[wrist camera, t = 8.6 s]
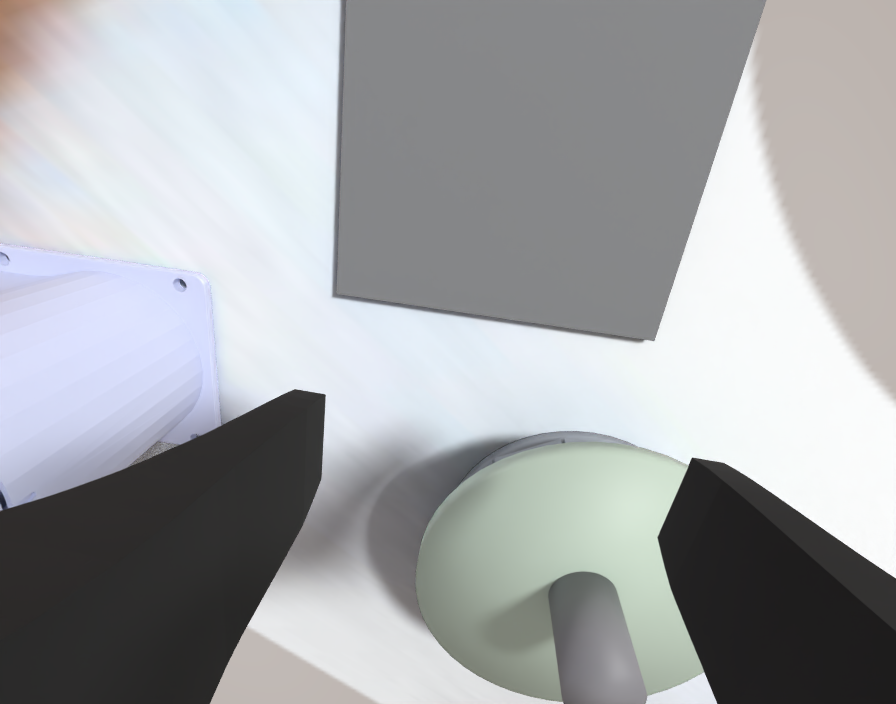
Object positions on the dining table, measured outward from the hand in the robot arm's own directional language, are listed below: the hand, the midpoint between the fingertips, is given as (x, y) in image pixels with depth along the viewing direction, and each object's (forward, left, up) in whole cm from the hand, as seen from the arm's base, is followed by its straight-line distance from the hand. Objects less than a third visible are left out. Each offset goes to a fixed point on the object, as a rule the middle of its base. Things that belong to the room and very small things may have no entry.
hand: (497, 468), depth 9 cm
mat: (0, +6, -9) cm, 11 cm away
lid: (+5, -9, -6) cm, 12 cm away
